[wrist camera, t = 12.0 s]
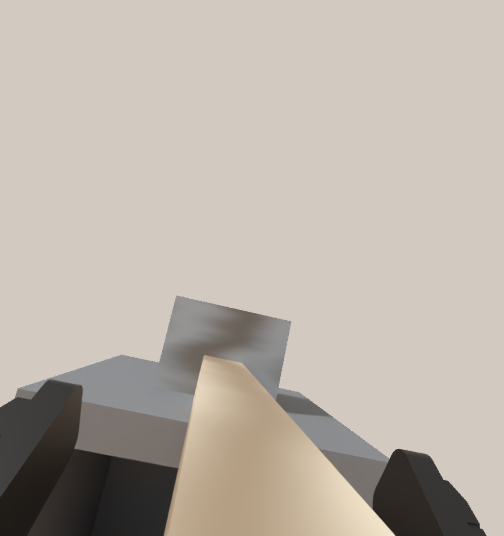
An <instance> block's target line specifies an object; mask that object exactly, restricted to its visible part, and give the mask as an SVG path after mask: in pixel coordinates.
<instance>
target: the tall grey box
mask: <svg viewBox="0 0 504 536" xmlns="http://www.w3.org/2000/svg"><path fill="white" fill-rule="evenodd" d="M158 366H159V363H158V362H153V361H148V360H143V359H138V358H134V357H129V356H125V355H120V356H117V357H113V358H111V359H107V360H105V361H101V362H98V363H95V364H92V365H89V366H86V367H83V368H80V369H77V370H74V371H70V372H67V373H64V374H62V375H58V376H55V377H52V378H49V379H52V380H57V381H63V382H68V383H73V384H78V385H82V387H83V395H82V405H81V415H80V425H79V434H78V438H77V442H76V445H75V448H74V451H73V454H72V456H71V458H70V460H69V462H68V464H67V466H66V467H65V469H64V471H63V473H62V474H61V476H60V478H59V480H58V482H57V483H56V485H55V487H54V489H53V490H52V492H51V494H50V496H49V498H48V499H47V501H46V503H45V505H44V506H43V508H42V510H41V512H40V514H39V515H38V517H37V519H36V521H35V522H34V524H33V526H32V528H31V530H30V531H29V533H28V535H27V536H164V532H165V528H166V523H167V519H168V514H169V510H170V505H171V500H172V496H173V491H174V487H175V482H176V478H177V473H178V468H179V464H180V459H181V455H182V450H183V446H184V441H185V436H186V432H187V427H188V423H189V418H190V414H191V409H192V404H193V400H194V395H191V394H186V393H182V392H177V391H172V390H167V389H162V388H157V387H153V386H154V382H155V378H156V374H157V370H158ZM49 379H46V380H43V381H40V382H37V383H34V384H30V385H27V386H25V387H21V388H18V390H17V393H16V396H15V398H17V397H21V398H26V399H32V398H33V397H34V395H35V394H36V393H37V392H38V391H39V389H40V388H41V387H42V386H43V385H44V383H45V382H46V381H48V380H49ZM276 402H277V403H278V404H279V405H280V406H281V407H282V408H283V410H284V411H285V412H286V413H287V414H288V415H289V416H290V418H291V419H292V420H293V421H294V422H295V423H296V424H297V425H298V427H299V428H300V429H301V430H302V431H303V432H304V433H305V434H306V436H307V437H308V438H309V439H310V440H311V441H312V442H313V443H314V445H315V446H316V447H317V448H318V449H319V450H320V451H321V452H322V454H323V455H324V456H325V457H326V458H327V459H328V460H329V461H330V463H331V464H332V465H333V466H334V467H335V468H336V469H337V470H338V472H339V473H340V474H341V475H342V476H343V477H344V478H345V479H346V481H347V482H348V483H349V484H350V485H351V486H352V487H353V488H354V490H355V491H356V492H357V493H358V494H359V495H360V496H361V497H362V499H363V500H364V501H365V502H366V503H367V504H368V505H369V506H370V508H371V509H372V510H373V494H374V491H375V488H376V486H377V484H378V482H379V480H380V478H381V476H382V474H383V472H384V470H385V468H386V465H387V463H388V461H389V458H388V457H386V456H385V455H383V454H382V453H381V452H379V451H378V450H377V449H375V448H374V447H373V446H371V445H370V444H369V443H367V442H366V441H365V440H363V439H362V438H360V437H359V436H358V435H356V434H355V433H354V432H352V431H351V430H350V429H348V428H347V427H346V426H344V425H343V424H341V423H340V422H339V421H337V420H336V419H334V418H333V417H332V416H331V415H329V414H328V413H326V412H325V411H324V410H322V409H321V408H320V407H318V406H317V405H316V404H314V403H313V402H312V401H310V400H309V399H307V398H306V397H304V396H303V395H302V394H301V393H299V392H295V391H290V390H286V389H281V388H278V392H277V397H276Z"/></svg>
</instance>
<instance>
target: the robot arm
mask: <svg viewBox="0 0 504 536" xmlns="http://www.w3.org/2000/svg"><path fill="white" fill-rule="evenodd" d="M82 395H83V387H82V385H78V384H73V383H68V382H63V381H57V380H52V379H49V380H48V381H46V382H45V383H44V385H43V386H42V387H41V388H40V389H39V391H38V392H37V393H36V394H35V395H34V397H33V398H32V399H26V398H21V397H17V398H15V399H14V400H12V401H10V402H8V403H7V404H5V405H3V406H2V407H0V536H27V535H28V533H29V531H30V530H31V528H32V526H33V524H34V522H35V521H36V519H37V517H38V515H39V514H40V512H41V510H42V508H43V506H44V505H45V503H46V501H47V499H48V498H49V496H50V494H51V492H52V490H53V489H54V487H55V485H56V483H57V482H58V480H59V478H60V476H61V474H62V473H63V471H64V469H65V467H66V466H67V464H68V462H69V460H70V458H71V456H72V454H73V451H74V448H75V445H76V442H77V438H78V434H79V425H80V415H81V405H82ZM373 511H374V512H375V513H376V514H377V516H378V517H379V518H380V519H381V520H382V521H383V522H384V523H385V525H386V526H387V527H388V528H389V529H390V530H391V531H392V532H393V534H394V535H395V536H486V534H485V532H484V531H483V529H480V524H479V522H478V520H477V519H476V517H475V515H474V513H473V512H472V510H471V508H470V507H469V505H468V503H467V501H466V500H465V499H464V498H463V497H462V496H461V495H460V494H459V493H458V491H457V490H456V489H455V488H454V487H453V486H452V485H451V484H450V483H449V481H446V480H443V478H442V476H441V475H440V473H439V471H438V469H437V467H436V466H435V464H434V462H433V460H432V459H431V457H430V456H428V455H427V454H422V453H417V452H412V451H407V450H402V449H396V450H395V451H394V452H393V453H392V455H391V457H390V459H389V461H388V463H387V465H386V468H385V470H384V472H383V474H382V476H381V478H380V480H379V482H378V484H377V486H376V488H375V491H374V494H373Z"/></svg>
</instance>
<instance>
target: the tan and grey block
mask: <svg viewBox="0 0 504 536" xmlns="http://www.w3.org/2000/svg"><path fill="white" fill-rule="evenodd" d="M290 325H291V321H287V320H282V319H277V318H273V317H269V316H264V315H260V314H256V313H251V312H247V311H242V310H238V309H233V308H229V307H224V306H220V305H215V304H211V303H207V302H202V301H198V300H193V299H189V298H185V297H180V296H176V299H175V303H174V307H173V311H172V315H171V319H170V323H169V327H168V331H167V334H166V339H165V342H164V346H163V350H162V354H161V358H160V362H159V366H158V370H157V374H156V378H155V382H154V386H153V387H157V388H162V389H167V390H172V391H177V392H182V393H186V394H191V395H194V400H193V404H192V409H191V414H190V418H189V423H188V427H187V432H186V436H185V441H184V446H183V450H182V455H181V459H180V464H179V468H178V473H177V478H176V482H175V487H174V491H173V496H172V500H171V505H170V510H169V514H168V519H167V523H166V528H165V532H164V536H395V535H394V534H393V532H392V531H391V530H390V529H389V528H388V527H387V526H386V525H385V523H384V522H383V521H382V520H381V519H380V518H379V517H378V516H377V514H376V513H375V512H374V511H373V510H372V509H371V508H370V506H369V505H368V504H367V503H366V502H365V501H364V500H363V499H362V497H361V496H360V495H359V494H358V493H357V492H356V491H355V490H354V488H353V487H352V486H351V485H350V484H349V483H348V482H347V481H346V479H345V478H344V477H343V476H342V475H341V474H340V473H339V472H338V470H337V469H336V468H335V467H334V466H333V465H332V464H331V463H330V461H329V460H328V459H327V458H326V457H325V456H324V455H323V454H322V452H321V451H320V450H319V449H318V448H317V447H316V446H315V445H314V443H313V442H312V441H311V440H310V439H309V438H308V437H307V436H306V434H305V433H304V432H303V431H302V430H301V429H300V428H299V427H298V425H297V424H296V423H295V422H294V421H293V420H292V419H291V418H290V416H289V415H288V414H287V413H286V412H285V411H284V410H283V408H282V407H281V406H280V405H279V404H278V403H277V402H276V397H277V392H278V386H279V381H280V376H281V371H282V366H283V361H284V355H285V350H286V346H287V341H288V336H289V330H290Z"/></svg>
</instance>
